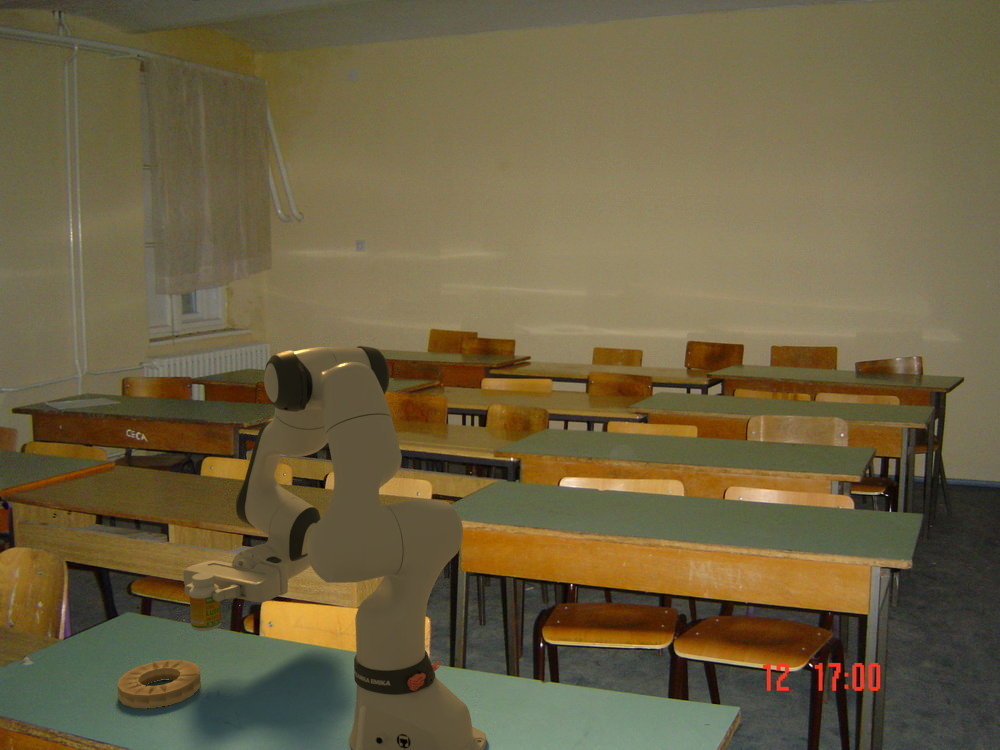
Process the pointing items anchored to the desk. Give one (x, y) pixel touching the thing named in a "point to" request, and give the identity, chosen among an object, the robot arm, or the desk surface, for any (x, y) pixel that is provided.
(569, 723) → the desk surface
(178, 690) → the plain brown donut
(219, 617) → the supplement bottle
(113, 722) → the desk surface
